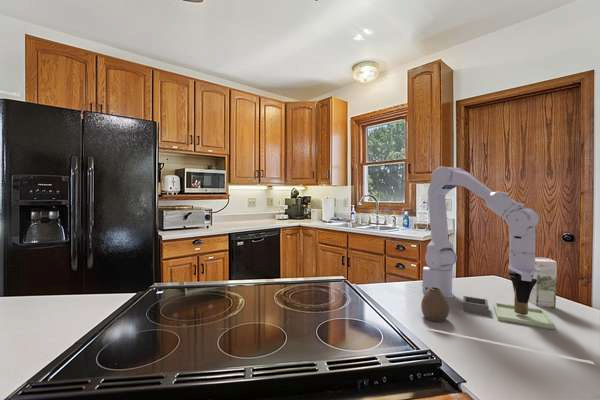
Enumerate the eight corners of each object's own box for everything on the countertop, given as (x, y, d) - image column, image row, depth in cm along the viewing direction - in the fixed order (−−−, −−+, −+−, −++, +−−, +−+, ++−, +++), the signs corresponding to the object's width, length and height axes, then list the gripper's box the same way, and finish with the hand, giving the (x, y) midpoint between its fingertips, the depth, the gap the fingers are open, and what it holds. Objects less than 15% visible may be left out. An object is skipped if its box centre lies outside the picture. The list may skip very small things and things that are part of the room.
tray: (497, 321, 79) (497, 315, 79) (493, 307, 90) (493, 302, 90) (555, 331, 73) (555, 325, 73) (543, 315, 84) (543, 309, 84)
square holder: (463, 312, 86) (463, 302, 86) (463, 305, 91) (463, 295, 91) (488, 316, 83) (488, 306, 83) (486, 309, 88) (486, 299, 88)
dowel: (515, 313, 81) (515, 284, 81) (513, 309, 84) (513, 281, 83) (528, 315, 79) (529, 286, 79) (526, 311, 82) (527, 283, 82)
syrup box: (542, 301, 95) (543, 256, 95) (556, 308, 89) (557, 260, 89) (523, 300, 95) (524, 256, 95) (536, 307, 89) (537, 260, 89)
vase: (452, 326, 76) (452, 293, 76) (424, 324, 78) (424, 291, 77) (444, 316, 83) (445, 285, 83) (418, 314, 84) (419, 283, 84)
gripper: (547, 258, 73) (546, 312, 73) (534, 249, 86) (533, 295, 86) (512, 255, 76) (511, 307, 77) (505, 246, 89) (504, 291, 89)
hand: (521, 300), depth 81 cm, fingers closed on dowel, 3 cm apart
